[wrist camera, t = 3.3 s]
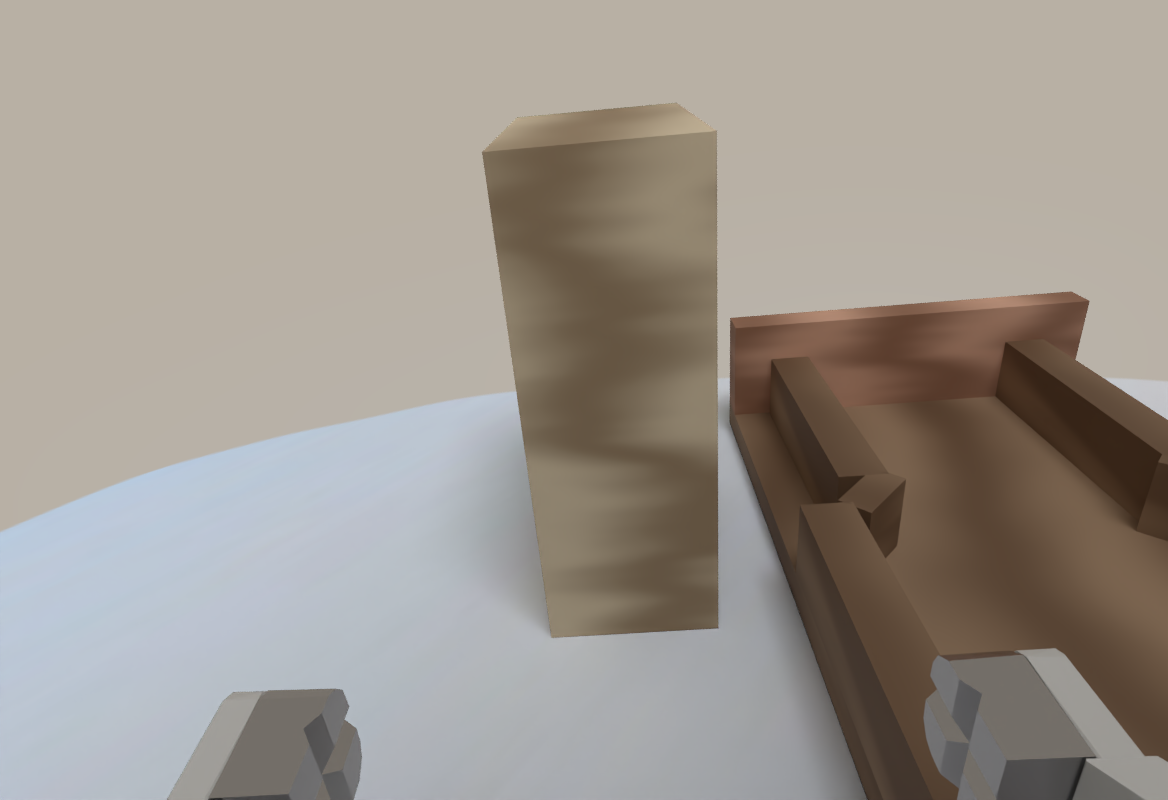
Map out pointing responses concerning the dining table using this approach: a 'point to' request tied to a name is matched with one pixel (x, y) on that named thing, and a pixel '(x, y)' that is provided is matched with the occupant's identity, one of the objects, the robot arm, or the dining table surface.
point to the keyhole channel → (956, 509)
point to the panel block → (615, 358)
